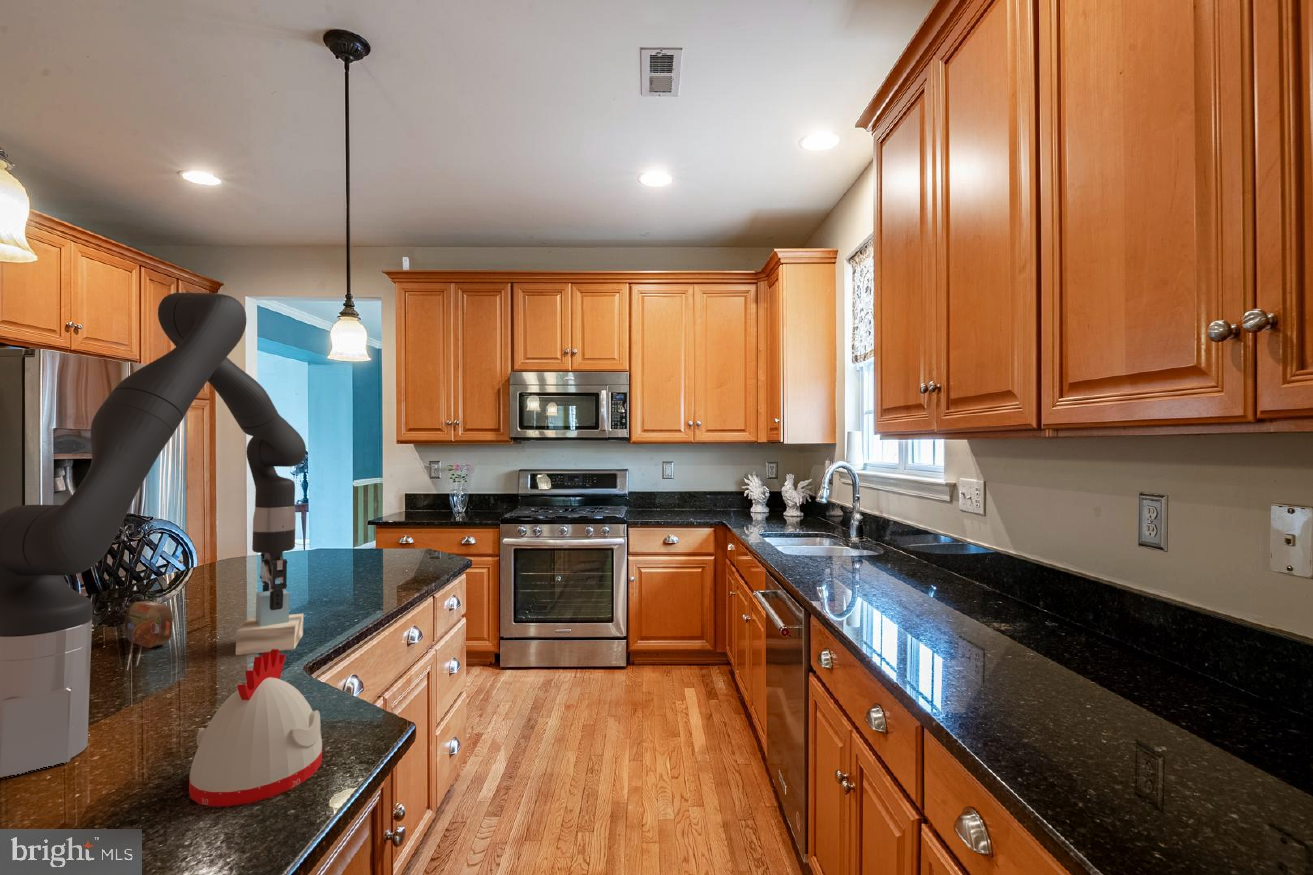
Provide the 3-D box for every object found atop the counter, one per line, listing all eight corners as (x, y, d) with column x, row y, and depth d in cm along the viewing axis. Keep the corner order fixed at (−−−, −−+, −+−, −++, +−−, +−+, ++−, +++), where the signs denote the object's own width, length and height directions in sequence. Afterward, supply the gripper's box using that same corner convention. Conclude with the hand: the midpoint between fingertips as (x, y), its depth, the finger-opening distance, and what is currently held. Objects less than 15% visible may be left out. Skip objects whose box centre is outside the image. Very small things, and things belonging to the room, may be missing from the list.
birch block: (294, 650, 119) (294, 626, 119) (235, 656, 115) (236, 631, 115) (302, 636, 128) (303, 613, 129) (248, 641, 125) (249, 617, 125)
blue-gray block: (288, 621, 122) (289, 593, 122) (260, 626, 119) (261, 596, 119) (283, 616, 126) (284, 588, 126) (255, 621, 122) (256, 592, 123)
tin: (122, 639, 124) (123, 599, 124) (141, 635, 127) (142, 596, 127) (156, 651, 117) (158, 609, 117) (175, 647, 120) (176, 606, 120)
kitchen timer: (342, 745, 81) (345, 637, 81) (281, 806, 67) (285, 675, 68) (239, 746, 80) (243, 637, 81) (158, 806, 67) (162, 675, 67)
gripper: (302, 530, 120) (300, 609, 119) (288, 523, 130) (286, 595, 130) (258, 533, 115) (256, 615, 114) (247, 525, 125) (245, 601, 125)
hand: (272, 605), depth 122 cm, fingers open, 8 cm apart
